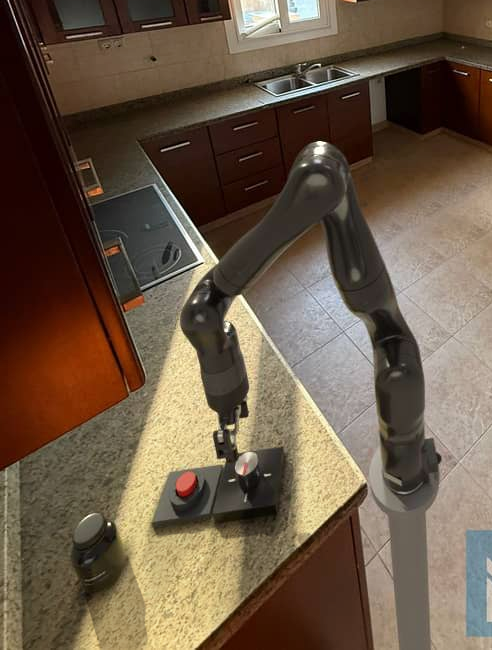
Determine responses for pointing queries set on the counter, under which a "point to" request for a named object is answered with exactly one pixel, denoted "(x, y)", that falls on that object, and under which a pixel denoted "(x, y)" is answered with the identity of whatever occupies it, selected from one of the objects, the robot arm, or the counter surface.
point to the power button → (186, 484)
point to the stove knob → (248, 470)
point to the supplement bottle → (97, 553)
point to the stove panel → (253, 501)
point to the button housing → (188, 498)
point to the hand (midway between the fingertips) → (238, 437)
